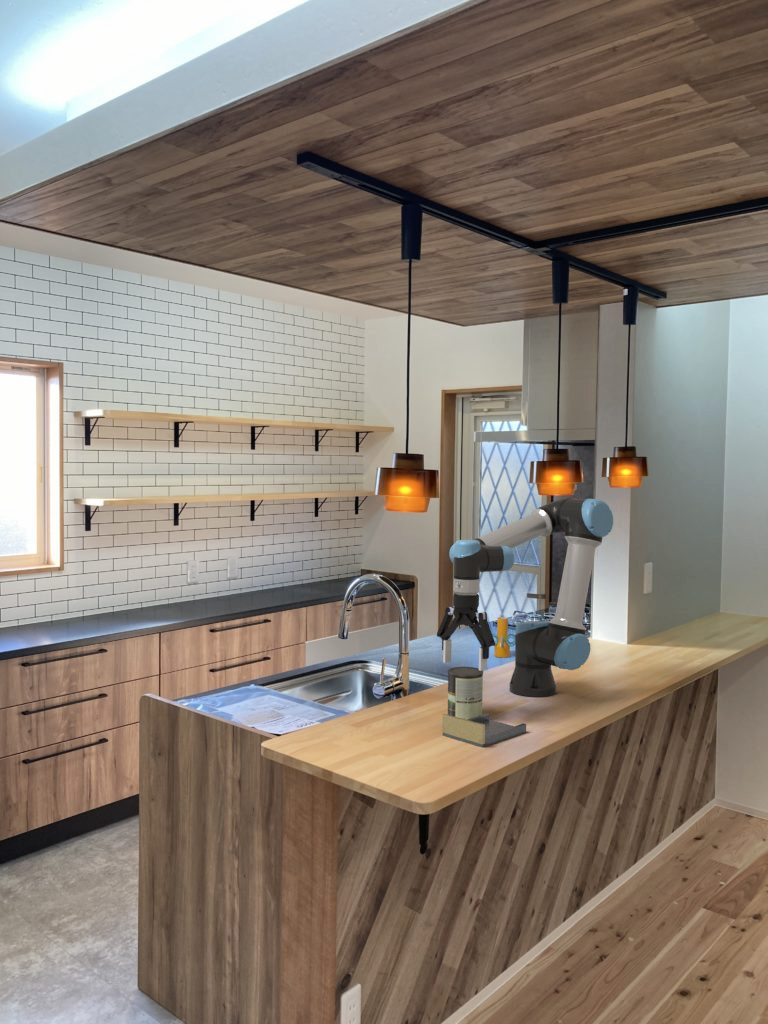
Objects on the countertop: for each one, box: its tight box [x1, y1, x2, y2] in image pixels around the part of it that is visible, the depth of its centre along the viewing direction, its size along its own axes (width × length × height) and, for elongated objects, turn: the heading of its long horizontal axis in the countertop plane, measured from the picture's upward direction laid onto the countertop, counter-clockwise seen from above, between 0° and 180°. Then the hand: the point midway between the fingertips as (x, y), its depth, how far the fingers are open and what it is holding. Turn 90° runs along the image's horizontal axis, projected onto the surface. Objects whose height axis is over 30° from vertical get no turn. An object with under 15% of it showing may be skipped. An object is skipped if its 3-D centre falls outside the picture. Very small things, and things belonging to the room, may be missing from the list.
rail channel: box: [442, 713, 527, 748], centre depth 235 cm, size 19×14×6 cm
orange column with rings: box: [492, 616, 515, 659], centre depth 334 cm, size 12×10×15 cm
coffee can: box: [447, 666, 484, 720], centre depth 249 cm, size 10×10×14 cm
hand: (464, 665), depth 249 cm, fingers open, 13 cm apart
